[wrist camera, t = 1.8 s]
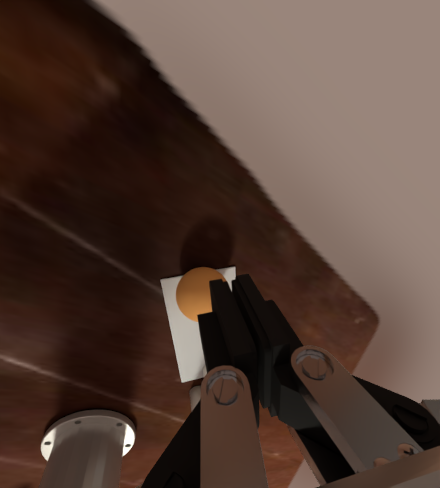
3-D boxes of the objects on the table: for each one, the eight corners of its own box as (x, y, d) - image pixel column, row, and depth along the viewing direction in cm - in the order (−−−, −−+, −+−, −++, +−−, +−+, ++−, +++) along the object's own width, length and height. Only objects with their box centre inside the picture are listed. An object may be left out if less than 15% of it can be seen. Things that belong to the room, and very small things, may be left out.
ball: (224, 295, 32) (237, 328, 27) (178, 304, 31) (181, 340, 26) (221, 254, 29) (235, 281, 24) (170, 262, 28) (172, 292, 23)
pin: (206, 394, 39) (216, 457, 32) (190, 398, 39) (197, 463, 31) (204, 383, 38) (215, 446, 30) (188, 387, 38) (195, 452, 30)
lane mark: (240, 367, 38) (240, 368, 38) (181, 381, 37) (181, 382, 37) (234, 266, 30) (235, 267, 30) (160, 279, 29) (160, 280, 29)
